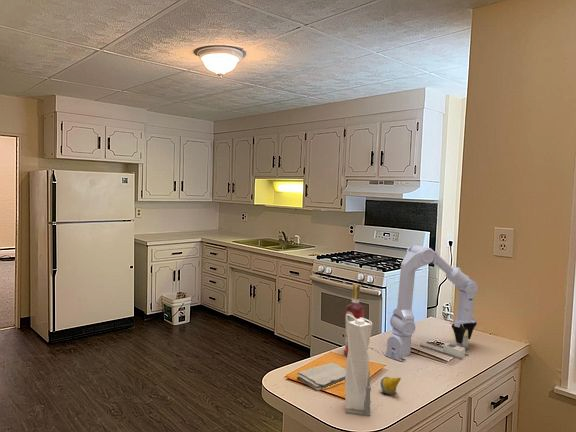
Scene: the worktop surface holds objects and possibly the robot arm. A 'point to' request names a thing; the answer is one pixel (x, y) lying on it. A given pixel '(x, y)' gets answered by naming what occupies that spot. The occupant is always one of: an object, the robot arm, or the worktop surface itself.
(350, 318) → the liquor
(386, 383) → the yellow pear
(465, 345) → the marbled round peg
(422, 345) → the board
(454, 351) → the block
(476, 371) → the worktop surface
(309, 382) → the washcloth
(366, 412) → the skyscraper
